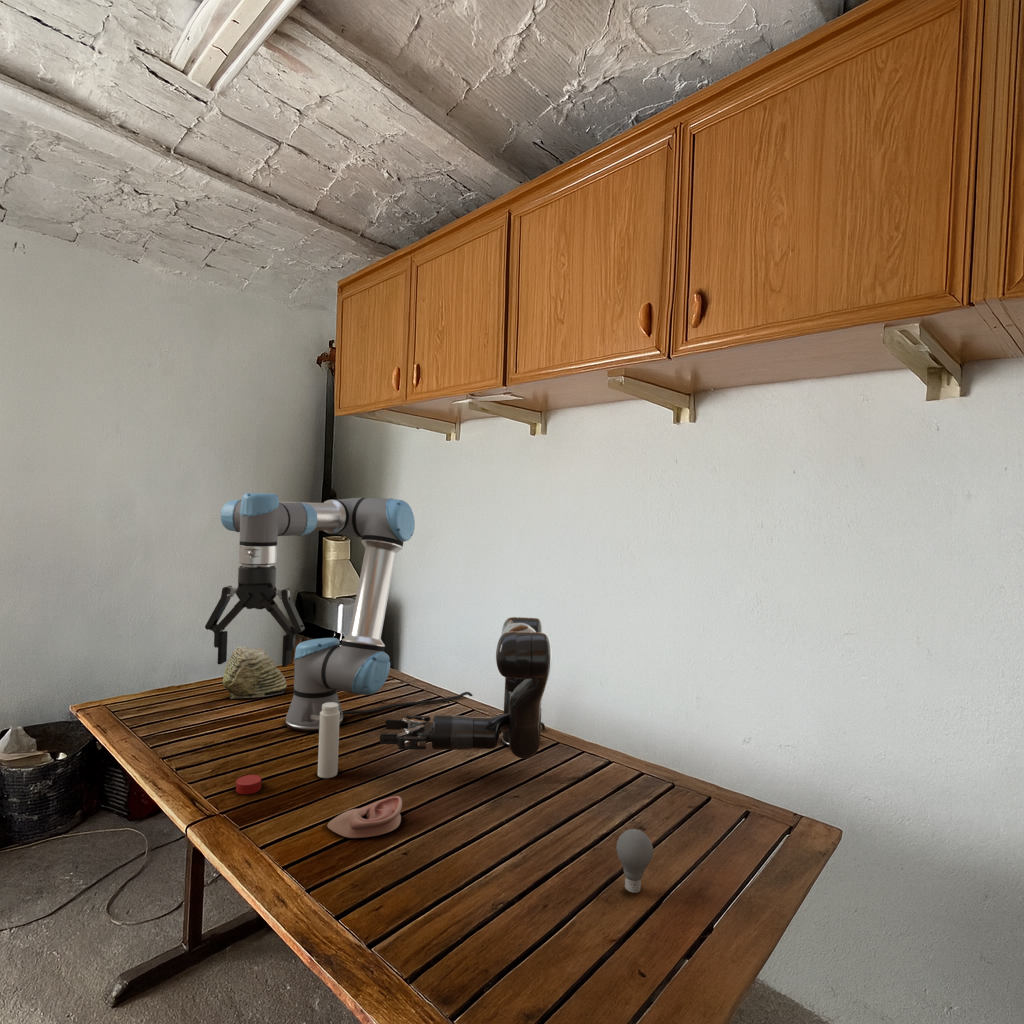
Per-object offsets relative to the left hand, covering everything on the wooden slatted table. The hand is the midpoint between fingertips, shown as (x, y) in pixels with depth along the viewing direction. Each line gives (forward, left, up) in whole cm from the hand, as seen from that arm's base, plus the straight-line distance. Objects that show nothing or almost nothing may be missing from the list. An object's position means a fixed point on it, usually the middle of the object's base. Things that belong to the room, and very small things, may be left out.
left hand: (254, 664), depth 136 cm
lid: (0, 0, -25) cm, 25 cm away
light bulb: (-24, +79, -27) cm, 87 cm away
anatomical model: (-7, +30, -27) cm, 41 cm away
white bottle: (-16, +6, -27) cm, 32 cm away
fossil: (-33, -58, -27) cm, 72 cm away
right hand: (-24, +14, -17) cm, 33 cm away
